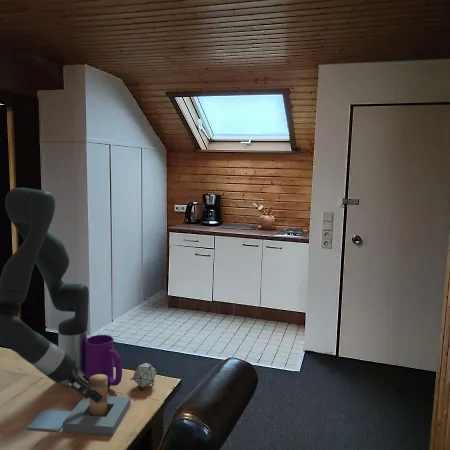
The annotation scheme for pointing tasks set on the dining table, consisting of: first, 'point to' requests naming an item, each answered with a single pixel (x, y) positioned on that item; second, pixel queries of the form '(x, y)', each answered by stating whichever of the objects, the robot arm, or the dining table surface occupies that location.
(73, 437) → the dining table surface
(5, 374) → the dining table surface
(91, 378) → the peg
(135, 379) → the game die
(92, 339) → the mug
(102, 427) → the board
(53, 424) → the pad
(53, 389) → the dining table surface
